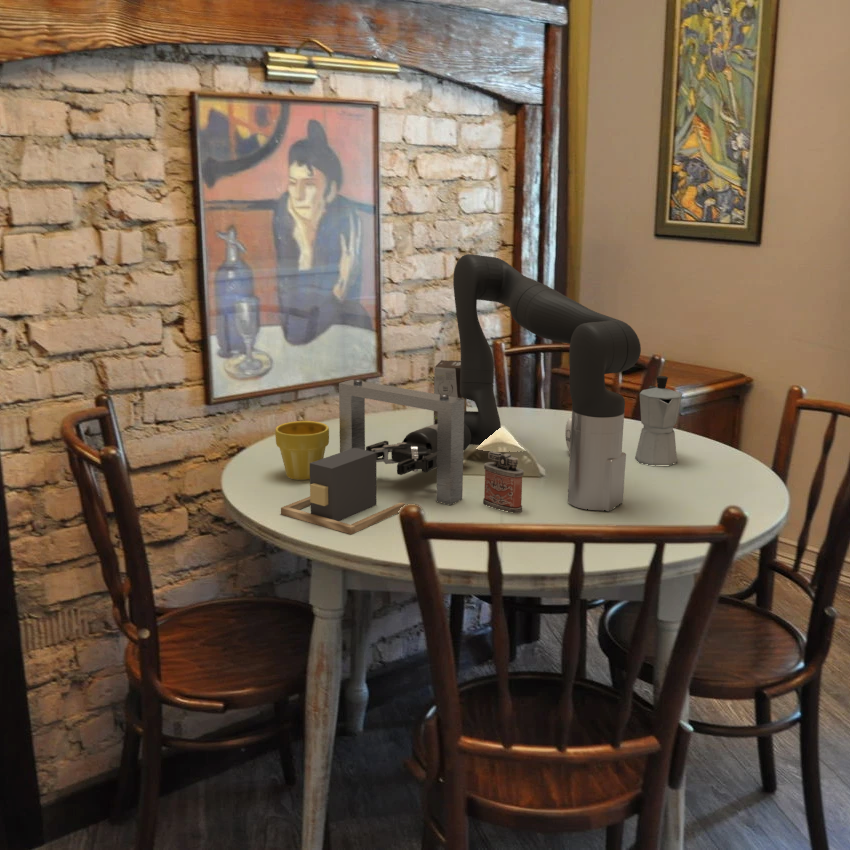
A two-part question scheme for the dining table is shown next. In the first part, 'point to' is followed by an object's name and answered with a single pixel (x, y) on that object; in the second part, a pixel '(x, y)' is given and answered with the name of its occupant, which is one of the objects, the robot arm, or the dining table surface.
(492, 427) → the robot arm
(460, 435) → the grey metal arch
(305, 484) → the dining table surface
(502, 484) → the lighter
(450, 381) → the coffee box
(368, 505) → the dark grey box
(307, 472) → the plant pot
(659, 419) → the coffee maker
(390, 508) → the bay
